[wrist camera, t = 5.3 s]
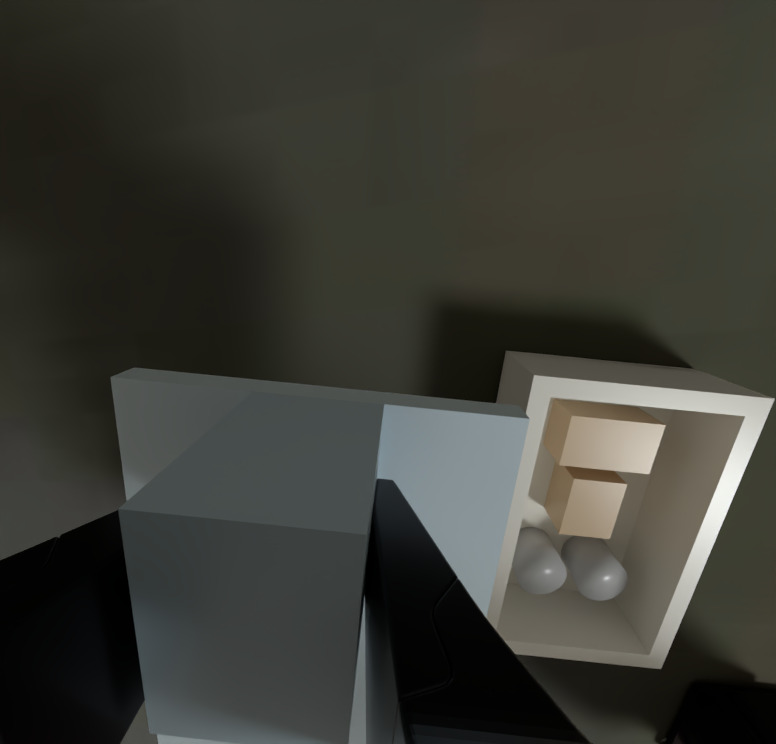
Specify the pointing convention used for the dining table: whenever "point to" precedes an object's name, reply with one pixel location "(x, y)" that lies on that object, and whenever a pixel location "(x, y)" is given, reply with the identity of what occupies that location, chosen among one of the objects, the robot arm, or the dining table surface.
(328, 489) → the lid
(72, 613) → the robot arm
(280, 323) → the dining table surface
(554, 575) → the tub
